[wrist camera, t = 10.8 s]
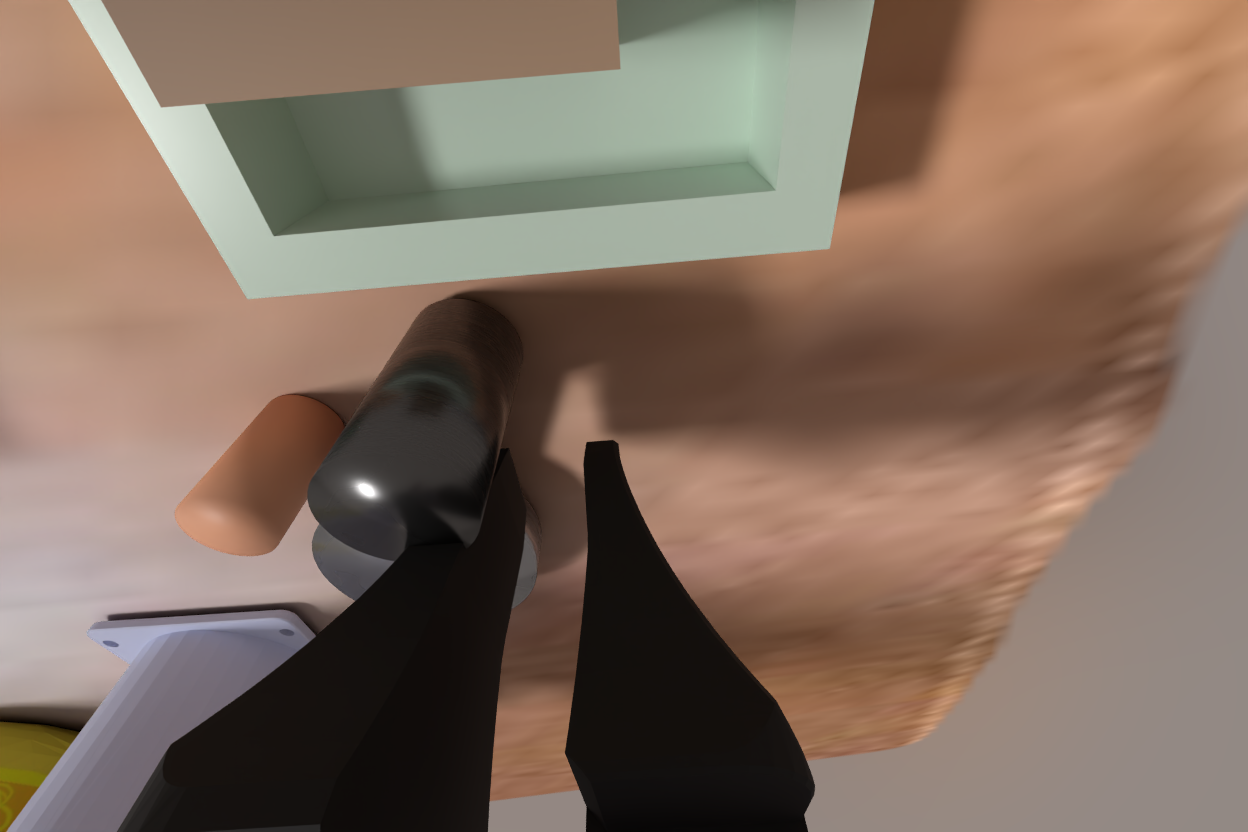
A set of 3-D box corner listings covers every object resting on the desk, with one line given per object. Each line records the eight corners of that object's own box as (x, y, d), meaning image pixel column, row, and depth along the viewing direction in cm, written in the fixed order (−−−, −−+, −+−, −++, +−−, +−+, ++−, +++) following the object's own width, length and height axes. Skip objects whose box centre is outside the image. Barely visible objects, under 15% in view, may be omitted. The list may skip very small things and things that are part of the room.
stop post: (357, 448, 14) (296, 553, 11) (288, 454, 14) (211, 559, 11) (325, 391, 13) (247, 493, 10) (249, 397, 13) (152, 500, 10)
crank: (521, 598, 18) (497, 754, 14) (337, 570, 17) (256, 733, 13) (612, 338, 12) (614, 499, 8) (318, 258, 10) (141, 404, 6)
